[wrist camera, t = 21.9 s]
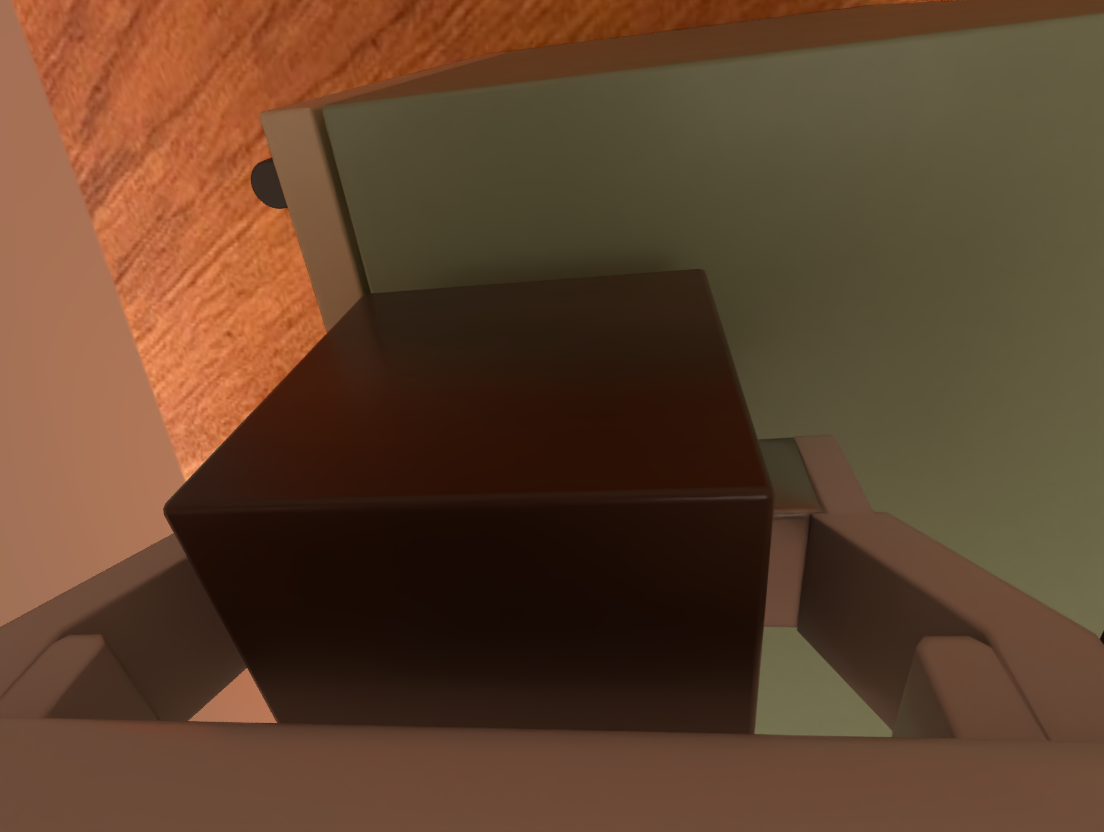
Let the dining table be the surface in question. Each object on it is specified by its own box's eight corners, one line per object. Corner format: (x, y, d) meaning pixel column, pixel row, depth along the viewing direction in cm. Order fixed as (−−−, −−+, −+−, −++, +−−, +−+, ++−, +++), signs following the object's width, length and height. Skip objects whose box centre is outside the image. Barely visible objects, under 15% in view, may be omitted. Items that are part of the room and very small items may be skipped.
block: (431, 543, 12) (328, 824, 8) (362, 291, 10) (154, 508, 5) (702, 539, 11) (748, 844, 7) (705, 265, 9) (778, 492, 5)
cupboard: (570, 504, 39) (527, 880, 22) (514, 50, 27) (318, 106, 10) (812, 498, 37) (972, 906, 20) (873, 4, 25) (1424, -26, 8)
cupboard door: (459, 509, 40) (339, 864, 23) (356, 69, 27) (-63, 149, 11) (565, 506, 39) (521, 875, 22) (509, 51, 26) (311, 106, 10)
